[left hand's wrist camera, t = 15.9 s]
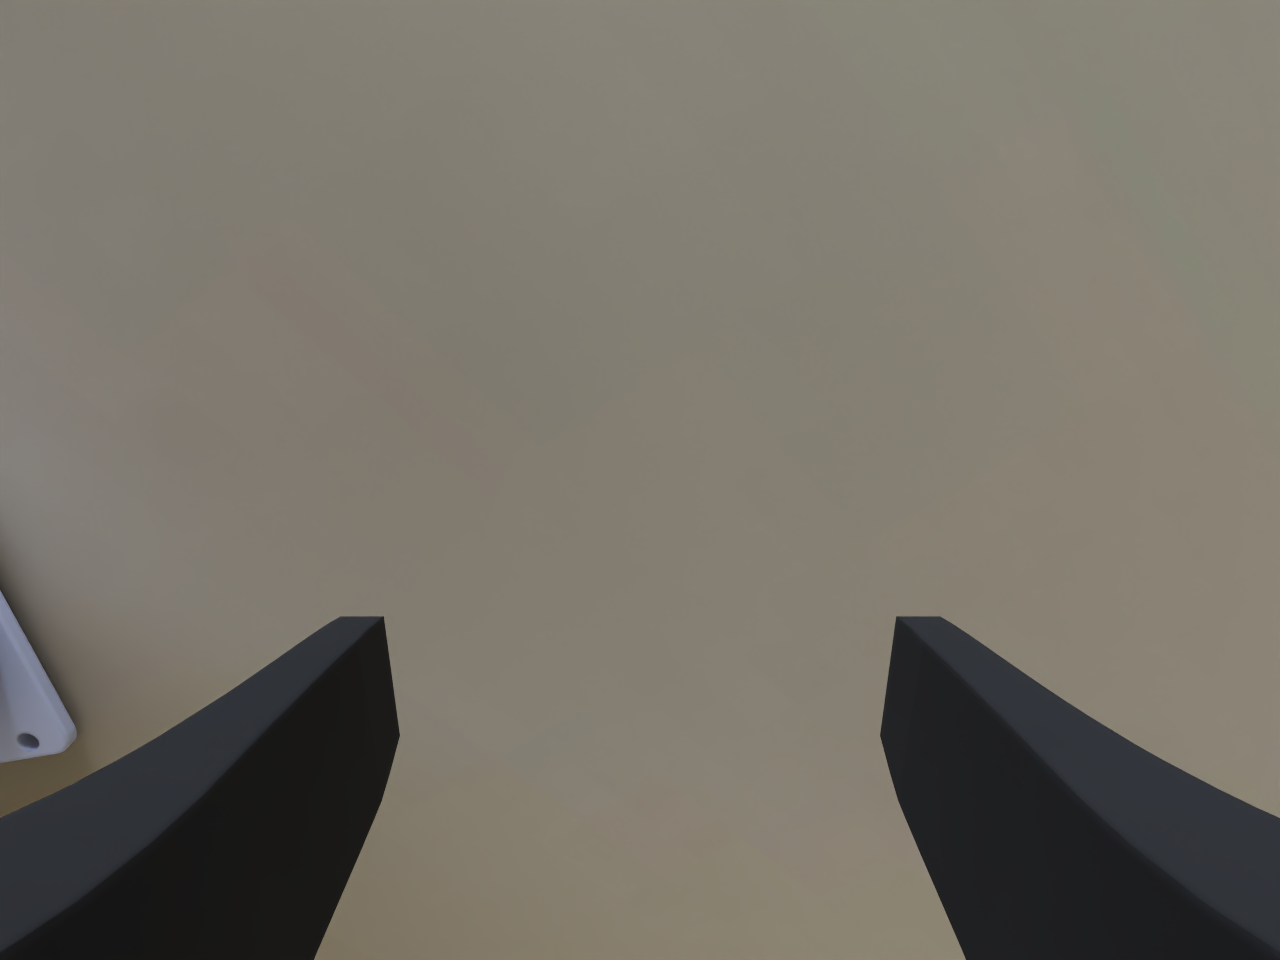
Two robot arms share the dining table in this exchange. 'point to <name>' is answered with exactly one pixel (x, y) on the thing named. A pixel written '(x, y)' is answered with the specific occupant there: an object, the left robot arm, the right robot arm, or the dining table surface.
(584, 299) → the dining table surface
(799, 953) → the dining table surface
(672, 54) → the dining table surface
